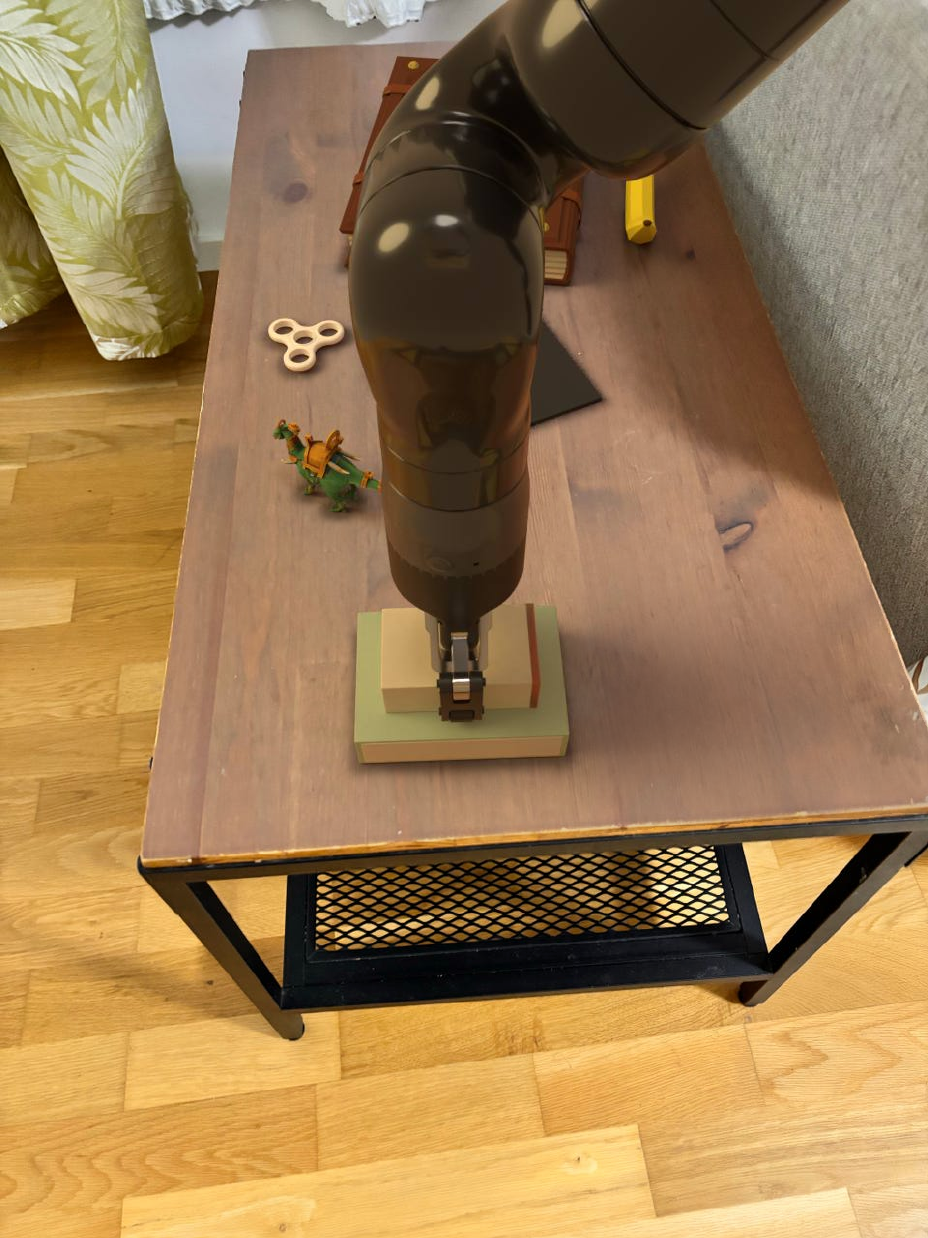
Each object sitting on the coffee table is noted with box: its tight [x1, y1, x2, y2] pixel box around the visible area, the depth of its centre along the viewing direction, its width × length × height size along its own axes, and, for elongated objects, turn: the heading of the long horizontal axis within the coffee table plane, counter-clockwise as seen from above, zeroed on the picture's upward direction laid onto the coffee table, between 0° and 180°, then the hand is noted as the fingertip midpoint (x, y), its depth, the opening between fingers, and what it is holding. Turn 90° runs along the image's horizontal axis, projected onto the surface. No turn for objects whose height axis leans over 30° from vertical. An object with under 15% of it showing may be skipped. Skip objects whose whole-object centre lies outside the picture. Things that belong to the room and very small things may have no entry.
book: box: [339, 55, 585, 285], centre depth 96 cm, size 23×32×5 cm
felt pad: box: [530, 320, 603, 427], centre depth 83 cm, size 14×9×1 cm, turn 26°
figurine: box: [272, 418, 381, 513], centre depth 71 cm, size 3×12×8 cm, turn 57°
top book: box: [381, 602, 541, 713], centre depth 61 cm, size 10×6×4 cm, turn 92°
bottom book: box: [353, 605, 570, 764], centre depth 64 cm, size 14×10×4 cm
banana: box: [624, 173, 658, 245], centre depth 91 cm, size 3×19×6 cm, turn 175°
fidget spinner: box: [267, 317, 345, 372], centre depth 84 cm, size 7×6×1 cm
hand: (459, 669), depth 62 cm, fingers closed on top book, 6 cm apart
